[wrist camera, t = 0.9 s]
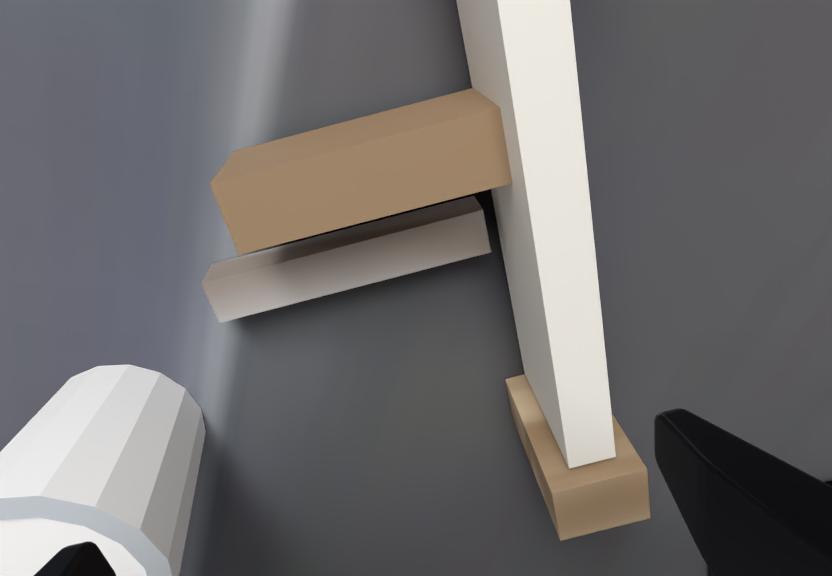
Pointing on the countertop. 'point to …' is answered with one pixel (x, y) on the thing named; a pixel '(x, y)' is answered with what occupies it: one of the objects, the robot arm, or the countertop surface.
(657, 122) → the countertop surface
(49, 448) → the white grey-rimmed cylinder
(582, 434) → the sliding door
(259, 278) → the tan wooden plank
